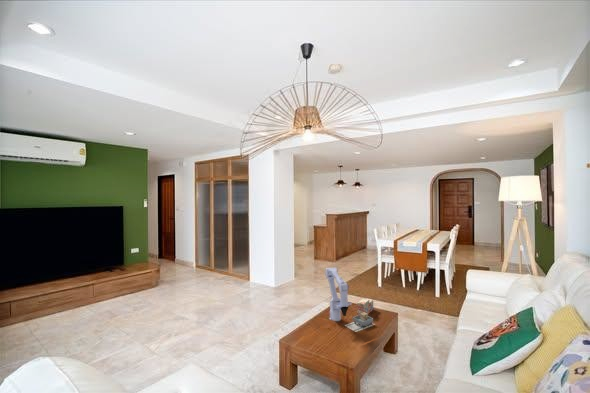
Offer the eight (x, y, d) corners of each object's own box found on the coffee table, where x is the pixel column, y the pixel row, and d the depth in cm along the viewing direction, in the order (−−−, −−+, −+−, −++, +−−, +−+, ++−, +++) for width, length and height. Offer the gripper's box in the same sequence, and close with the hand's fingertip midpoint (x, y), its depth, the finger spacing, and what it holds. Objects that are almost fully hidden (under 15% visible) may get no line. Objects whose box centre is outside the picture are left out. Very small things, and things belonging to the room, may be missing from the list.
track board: (344, 326, 230) (344, 325, 230) (363, 319, 241) (363, 318, 241) (355, 333, 219) (355, 331, 219) (375, 325, 230) (375, 324, 230)
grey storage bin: (352, 322, 233) (352, 317, 233) (363, 318, 240) (363, 313, 240) (362, 328, 224) (362, 322, 224) (373, 324, 230) (373, 318, 230)
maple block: (363, 318, 235) (363, 312, 235) (367, 320, 232) (367, 314, 232) (360, 319, 233) (360, 313, 233) (364, 321, 230) (364, 315, 230)
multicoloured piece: (367, 308, 266) (366, 295, 265) (373, 309, 262) (373, 296, 262) (357, 316, 249) (357, 302, 248) (363, 318, 245) (363, 304, 245)
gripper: (340, 302, 219) (340, 319, 219) (354, 298, 227) (354, 315, 227) (334, 299, 225) (334, 316, 225) (348, 295, 233) (348, 312, 233)
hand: (344, 315), depth 226 cm, fingers closed
